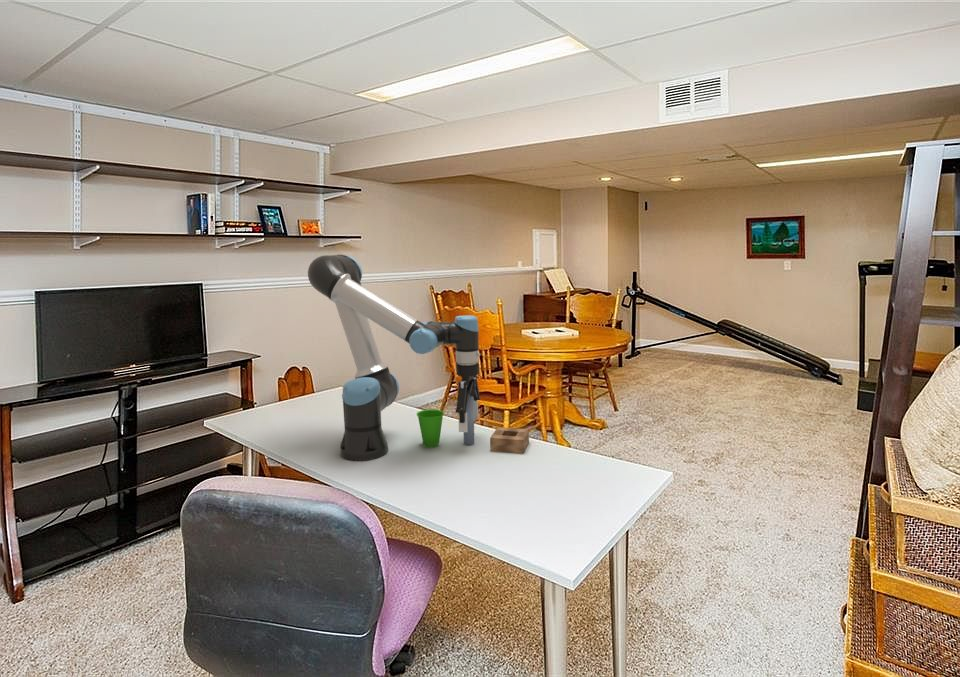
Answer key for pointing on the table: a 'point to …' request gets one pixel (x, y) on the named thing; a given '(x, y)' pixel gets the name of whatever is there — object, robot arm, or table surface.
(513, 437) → the wooden socket block
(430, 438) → the cup
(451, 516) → the table surface
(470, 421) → the blue-grey rounded rod
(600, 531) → the table surface
